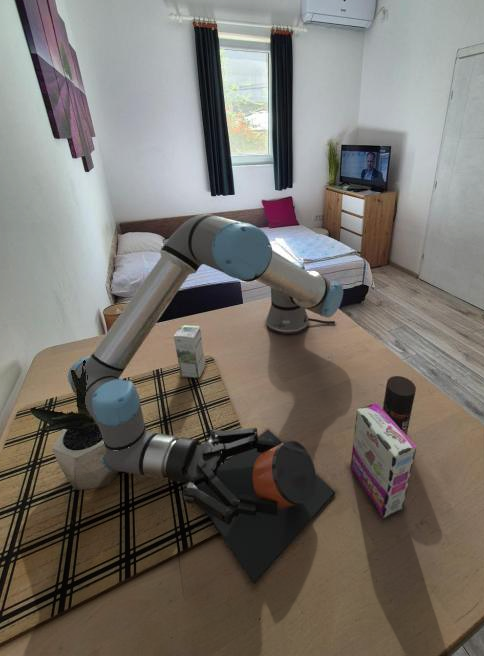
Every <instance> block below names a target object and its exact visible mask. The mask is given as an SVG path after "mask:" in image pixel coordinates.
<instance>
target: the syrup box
mask: <svg viewBox="0 0 484 656" xmlns="http://www.w3.org/2000/svg"><path fill="white" fill-rule="evenodd" d="M173 340H174V345H175V351H176V358H177V362H178V368H179V374H180V377H181V378H193V379H199V378H200V377H201V376H202V373H203V372H204V370H205V367H206V359H205V353H204V345H203V336H202V329H201V326H200V325H186V324H185V325H184V324H181V325H180V326H179V327H178V328H177V330H176V332H175V333H174V334H173Z"/></svg>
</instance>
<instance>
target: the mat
mask: <svg viewBox="0 0 484 656" xmlns="http://www.w3.org/2000/svg"><path fill="white" fill-rule="evenodd" d="M258 437H260V438H266V439H272V440H273V442H274V443H280V444H282V443H283V442H282V441H281V440H280V439H279V438H278V437H277V436H276V435H275V434H274V433H273V432H272V431H271V430H270V429H266V430H265V431H264V432H263V433H261V434H260V435H258ZM260 454H261V453H259V452H257V448H255V449H252V450H249V451H246V452H243V453H240V454H237V455H234V456H231V457H229V458H228V459H226V460H225V462H223V463H221V464H220V466H219V468H218V469H217V474H216V477H217V478H218V479H219V480H220V481H221V482H222V483H223V484H224V485H225V486H226V487H227V489H228V490H229V491H230V492H231V493H232V494H233V495H234V496H235V497H236V498H237V499H238V500H239V501H240V499H239V498H240V495H241V494H242V495H247V496H252V497H257V495H256V492H255V489H254V485H253V468H254V464H255V461H256V459H257V458H258V456H259V455H260ZM196 487H197V489H199V490H200V491H202V492H204V493H205V494H207V495H209V496H210V497H212V498H213V499H215V500H217V501H218V502H220V503H221V504H223V505H225V504H224V503H223V502H222V500H221V499H220V498H219V497H218V496H217V495H216V494H215V493H214V492H213V490H212V489H211V490H210V488H209V487H208V486H207V485H206V484H205V483H202V484H199V485H197V486H196ZM335 494H336V493H335V490H334V489H333V488H332V487H330V486H329V485H328V483H326V482H325V481H324V480H323V479H322V478H321V477H320V476H318V474H316V485H315V490H314V493H313V495H312V497H311V498H310V499H309V500H308V501H307V502H305V503H303V504H300V505H296V506H293V507H290V508H286V509H283V510H280V511H277V515H271V514H266V513H261V512H257V513H256V515H255V516H250V515H245V514H240V513H239V515H238V516H237V517H233V519H232V522H231V524H229V525H227V524H225V523H224V522H222V521H221V520H219V519H217V518H216V517H214V516H213V515H211V514H210V513H208V512H207V511H205V510H204V512H205V513H206V515H207V516H208V518H209V519H210V521H211V522H212V524H213V525H214V527H215V528H216V529H217V531H218V532H219V534H220V536H221V537H222V538H223V540H224V541H225V543H226V545H227V546H228V547H229V549H230V551H231V552H232V554H233V555H234V556H235V558H236V560H237V561H238V563H239V564H240V565H241V567H242V568H243V570H244V571H245V573H246V574H247V576H248V577H249V579H250V580H251V582H252V583H253V584H254V585H255V584H256V583H257V582H258V580H259V579H260V578H261V577H262V576H263V575H264V574H265V573H266V571H267V570H268V569H269V568H270V567H271V566H272V565H273V564H274V562H275V561H276V560H277V559H278V558H279V557H280V556H281V555H282V553H283V552H284V551H285V550H286V549H287V548H288V547H289V545H291V544H292V542H293V541H294V540H295V539H296V538H297V536H298V535H299V534H301V532H302V531H303V530H304V529H305V528H306V527H307V526H308V524H309V523H310V522H311V521H312V520H313V519H314V518H315V516H316V515H317V514H318V513H319V512H320V511H321V510H322V509H323V507H325V505H326V504H327V503H328V502H329V500H330V499H332V497H333V496H334V495H335ZM225 506H226V505H225ZM226 507H227V506H226Z"/></svg>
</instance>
